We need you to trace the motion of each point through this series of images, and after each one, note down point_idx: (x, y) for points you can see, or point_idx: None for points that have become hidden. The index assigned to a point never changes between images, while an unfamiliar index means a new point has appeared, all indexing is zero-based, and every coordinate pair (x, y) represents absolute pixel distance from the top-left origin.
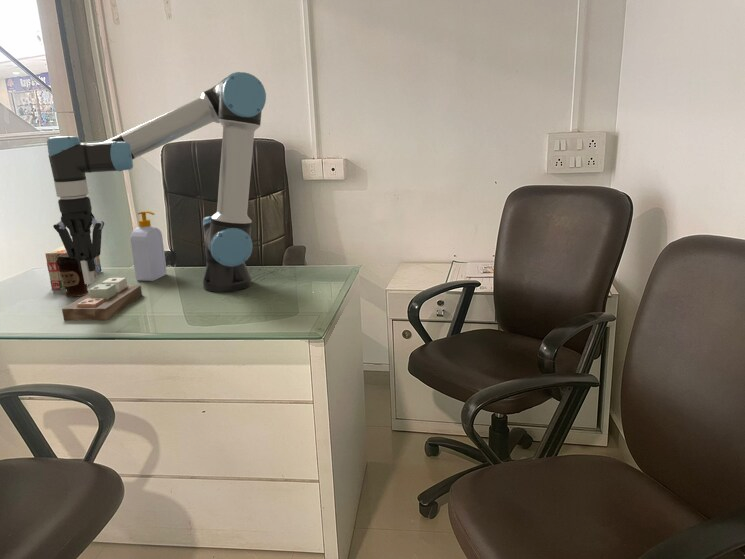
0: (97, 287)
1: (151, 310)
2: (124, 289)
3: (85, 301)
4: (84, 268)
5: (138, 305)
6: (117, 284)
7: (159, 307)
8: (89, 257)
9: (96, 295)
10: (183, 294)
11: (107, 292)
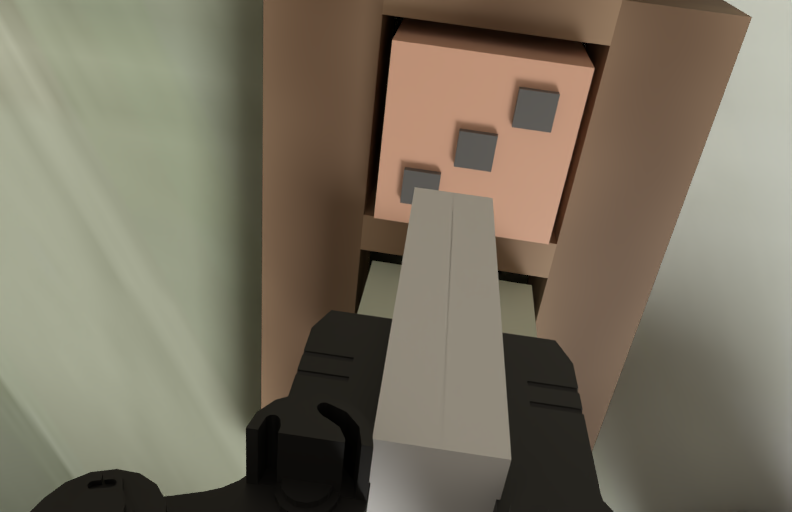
0: None
1: (40, 142)
2: None
3: (519, 125)
4: (445, 328)
5: (203, 273)
6: None
7: (19, 202)
8: (245, 502)
9: None
10: (15, 427)
11: (361, 301)
